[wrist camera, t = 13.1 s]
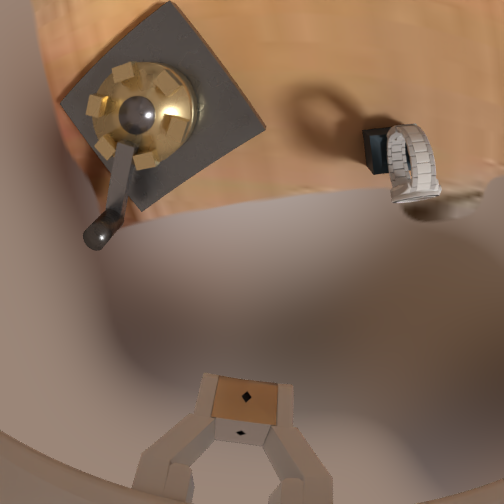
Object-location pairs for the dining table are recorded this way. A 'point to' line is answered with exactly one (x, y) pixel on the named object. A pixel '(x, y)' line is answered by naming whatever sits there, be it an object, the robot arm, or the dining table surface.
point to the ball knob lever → (137, 130)
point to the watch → (403, 161)
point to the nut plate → (207, 93)
